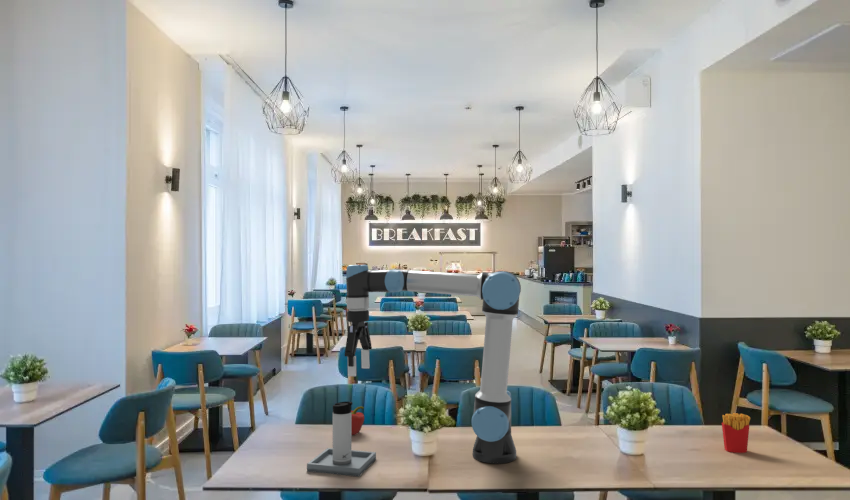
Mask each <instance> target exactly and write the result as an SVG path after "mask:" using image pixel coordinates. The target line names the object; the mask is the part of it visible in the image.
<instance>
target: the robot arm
mask: <svg viewBox="0 0 850 500" xmlns="http://www.w3.org/2000/svg"><path fill="white" fill-rule="evenodd" d="M345 274H346V275H345V282H346V300H345V303H346V309H347V311H346V321H347V322H348V323H351V325H348V326H347V335H346V342H345V350H344V357H347V376H348V377H357V355H356V351H357V349H358V348H357V347H358V344H359V343H360V345H361V350H360V352H361V353H360V354H361V355H360V356H361V359H360V361H361V369H364V370H365V369H370V366H371V365H370V350H372V348H373V347H372V341H371V336H370V331H369V323H368V321H369V320H370V311H369V308H370V295H369V293H391V294H392V293H400V292H416V293H417V292H418V293H428V294H429V293H430V294H441V295H454V296H455V295H456V296H469V297H478V298H479V300H480V301H481V300H482V307H481V312H482V314H483V315H484V316H485V327H484V341H483V342H484V343H483V353H482V365H481V366H482V367H481V375H480V376H481V378H480V389H479V390H478V391H477V392H476V393H475V394H474V404H473V405H474V406H473V414H472V417H471V419H470V420H471V427H472V430H473V432H474V434H475V436H476V437H475V441H474V443H473V447H472V457H473V459H474V460H476V461H479V462H483V463H486V464H507V463H511V462H514V461H516V459H517V449H516V445H515V442H514V438H513V436H512V393H511V392H510V391H509V390H508V381H509V370H510V369H509V368H510V357H511V356H510V355H511V345H512V344H511V343H512V335H513V334H512V332H513V321H514V319H515V318H516V317H517V316H518V315H519V305H520V295H521V291H522V289H521V288H522V287H521V286H522V285H521V281H520V279H519V278H518V277H517V276H516V275H515V274H513V272H510V271H506V270H501V271H500V270H499V271H495V272H494V271H493V272H485V271H484V272H481V273H479V274H470V273H456V272H454V273H453V272H440V271H428V270H427V271H426V270H424V271H423V270H411V269H401V268H393V269H380V270H379V269H377V270H376V269H375V270H373V269H370V268H369V265H367V264H349V265H347V267H346V273H345Z"/></svg>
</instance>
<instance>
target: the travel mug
mask: <svg viewBox="0 0 850 500" xmlns="http://www.w3.org/2000/svg"><path fill="white" fill-rule="evenodd" d="M352 405H353V401H340V402H337V403H334V404H333V405H332V448H333V463H334V464H335V465H347V464H349V463H351V450H352V435H351V411H352Z"/></svg>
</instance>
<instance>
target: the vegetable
mask: <svg viewBox="0 0 850 500" xmlns="http://www.w3.org/2000/svg"><path fill="white" fill-rule="evenodd" d="M364 408H365V407H364V406H362V405H361V406H357V407H356V408H355V409H354V410H351V436H356V435H357V434H359V433H360V431H361V429H362V427H363V424H364V423H365V422H364V421H365V415H364V413H363V412H358V411H359V410H360V409H361V410H364Z"/></svg>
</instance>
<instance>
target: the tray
mask: <svg viewBox="0 0 850 500" xmlns="http://www.w3.org/2000/svg"><path fill="white" fill-rule="evenodd" d="M376 460H377V451H366V450H355V449H351V463H349V464H347V465H335V464H334V463H333V447H327V448H325V449H324V450H323V451H322V452H320V453H319V454H317V455H316V456H315V457H314V458H313V459H311V460H310V461H309V462H307V463H306V472H309V473H318V474H319V473H320V474H329V475H340V476H349V477H360V476H361V475H362V474H363V473H364V472H365V471H366V470H367V469H368V468H369V467H370V466H372V464H374V462H375V461H376Z"/></svg>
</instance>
